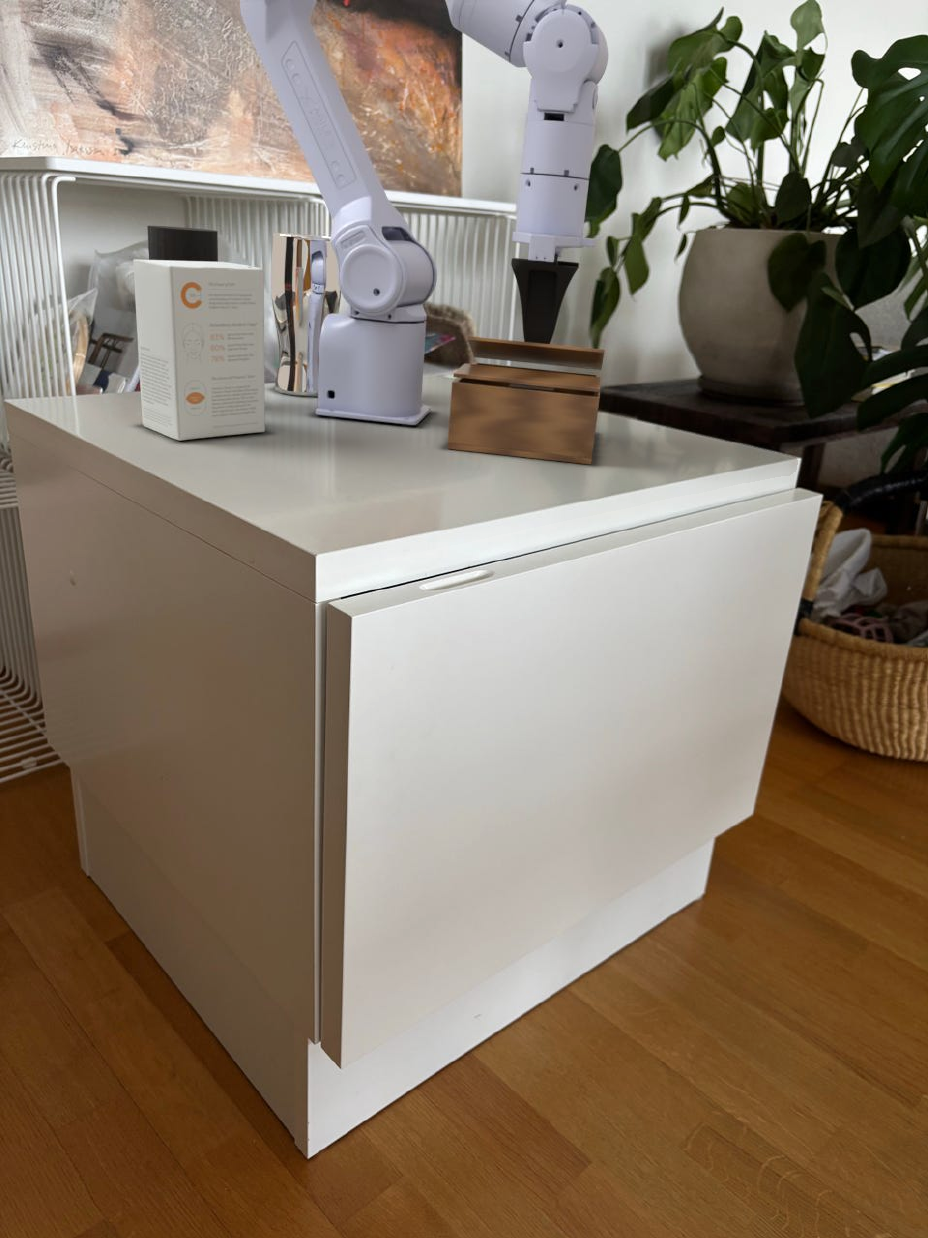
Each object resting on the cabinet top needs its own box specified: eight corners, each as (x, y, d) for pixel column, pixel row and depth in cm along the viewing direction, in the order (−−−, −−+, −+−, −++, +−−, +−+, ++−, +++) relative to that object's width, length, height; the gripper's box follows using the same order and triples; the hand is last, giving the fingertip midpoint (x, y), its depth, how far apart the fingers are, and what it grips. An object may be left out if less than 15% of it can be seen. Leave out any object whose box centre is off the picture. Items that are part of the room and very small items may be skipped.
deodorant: (200, 392, 95) (196, 227, 89) (232, 404, 91) (230, 232, 85) (143, 396, 91) (135, 224, 85) (173, 408, 87) (167, 228, 81)
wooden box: (447, 448, 81) (452, 373, 78) (468, 420, 93) (473, 354, 90) (590, 464, 80) (600, 388, 77) (593, 433, 91) (602, 367, 89)
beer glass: (325, 400, 96) (329, 238, 90) (259, 392, 97) (259, 232, 92) (347, 389, 103) (352, 238, 97) (285, 382, 104) (286, 232, 98)
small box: (226, 418, 85) (224, 260, 80) (266, 433, 81) (266, 267, 76) (139, 425, 79) (131, 257, 74) (177, 442, 75) (170, 264, 70)
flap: (467, 339, 84) (467, 335, 84) (474, 357, 90) (474, 354, 90) (604, 353, 83) (604, 349, 83) (601, 370, 89) (601, 366, 89)
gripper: (602, 177, 73) (579, 360, 78) (603, 185, 86) (584, 341, 92) (509, 169, 74) (493, 352, 79) (525, 178, 87) (510, 334, 92)
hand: (536, 346), depth 85 cm, fingers closed
